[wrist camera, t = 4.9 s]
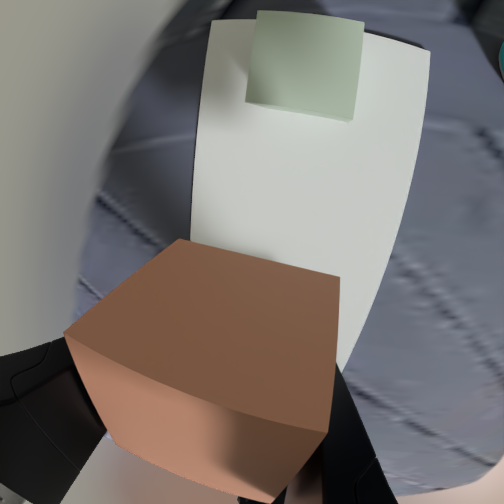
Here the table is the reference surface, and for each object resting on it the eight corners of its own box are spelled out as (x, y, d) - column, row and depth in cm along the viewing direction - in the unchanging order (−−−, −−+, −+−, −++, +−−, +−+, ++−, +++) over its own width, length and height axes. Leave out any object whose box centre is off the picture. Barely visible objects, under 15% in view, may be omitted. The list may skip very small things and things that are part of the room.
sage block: (348, 122, 14) (352, 119, 10) (268, 108, 15) (244, 102, 11) (357, 49, 12) (364, 22, 8) (277, 38, 13) (257, 10, 9)
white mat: (339, 372, 22) (339, 377, 21) (192, 332, 24) (189, 336, 24) (427, 54, 11) (430, 51, 11) (215, 23, 14) (211, 20, 13)
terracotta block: (301, 386, 9) (270, 503, 5) (181, 351, 10) (115, 444, 6) (340, 276, 7) (327, 432, 3) (178, 238, 8) (63, 332, 4)
